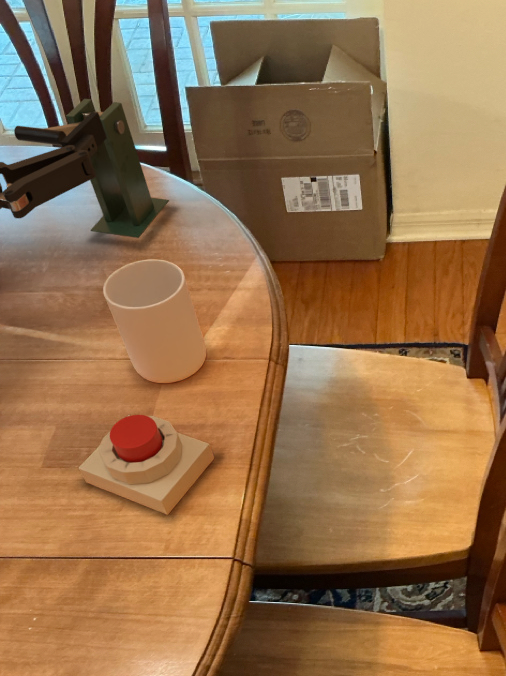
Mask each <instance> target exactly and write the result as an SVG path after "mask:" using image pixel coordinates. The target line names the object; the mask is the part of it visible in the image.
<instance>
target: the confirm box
mask: <svg viewBox="0 0 506 676" xmlns="http://www.w3.org/2000/svg"><path fill="white" fill-rule="evenodd" d="M128 416H131V414H128V415H127V416H126V417H128ZM147 416H148V417H150V418H152V419H153V420H154V421H155V423H156V425H157V427H158V430H159V432H160V435H161V437H162V441H163V442H162V447H161V449H160V451H159V452H158V453H157V454H156V455H155V456H154V457H152V458H150V459H147V460H145V461H143V462H134V463H131V462H127V461H124V460H122V459H121V458H120V457H119V456H118V454H117V452H116V450H115V448H114V446H113V444H112V442H111V440H110V431H111V429H110V430H108V432H107V433H106V434H105V435H104V436H103V438H101V442H100V444H99V445H98V446H97V448H96V449H94V451H92V453H91V454H90V455H89V456H88V457H87V458H86V459H85V460H84V461H83V462H82V463H81V464H80V466H78V470H79V472H80V474H81V476H82V478H83V480H84V481H85V483H86V484H89V485H91V486H94V487H96V488H99V489H102V490H105V491H107V492H109V493H112V494H113V495H117V496H119V497H122V498H123V499H128V501H129V500H130V501H132V502H135V503H137V504H139V505H141V506H144V507H147V508H150V509H152V510H154V511H157V512H160V513H162V514H165V515H167V516H168V515H169V514H170V513H171V512H172V511H173V510H174V508H175V507H176V506H177V505H178V503H179V502H180V501H181V500H182V499H183V497H184V496H185V495H186V493H187V492H188V491H190V489H191V488H192V486H193V485H194V484H195V483H196V481H197V480H198V479H199V478H200V477H201V475H202V474H203V473H204V472H205V470H206V469H207V468H208V467H209V465H210V464H212V462H213V461H214V460H215V456H214V453H213V451H212V448H211V445H210V443H209V442H206V441H202V440H200V439H198V438H195V437H192V436H189V435H187V434H183V433H181V432H178V431H177V430H176V429H175V427H174V426H173V425H172V423H171V421H168V420H166V419H164V418H161V417H158V416H155V415H147Z"/></svg>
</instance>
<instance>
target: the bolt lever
mask: <svg viewBox="0 0 506 676" xmlns="http://www.w3.org/2000/svg"><path fill="white" fill-rule="evenodd" d="M95 111H96V112H98V114H99V116H100V115H101V114H102V113H103V112H104V111H97V110H95ZM90 113H91V112H90ZM90 113H84V114H83V118H84V119H85V118H86V117H87V116H88V115H89V114H90ZM80 123H81V122H78V123H73V124H69V123H68V124H63V125H57V126H50V127H45V128H40V127H32V126H23V125H16V126H14V130H13V132H14V137H15V138H16V140H17V141H20V142H21V141H22V142H28V143H38V144H45V145H53V146H61V147H62V144H61V141H62V140H63V139H64V138H65V137H66V136H67V135H68V134H69V133H70V132H71V131H72V130H73V129H74V128H75V127H77V126H78V125H79V124H80Z"/></svg>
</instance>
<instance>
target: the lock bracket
mask: <svg viewBox="0 0 506 676" xmlns="http://www.w3.org/2000/svg"><path fill="white" fill-rule="evenodd" d="M96 111H97V110H96V108H95V105H94V102H93V100H92V99H90V98H83V99H82V101H80V102H79V104H77V105H76V106H75V107H74V108H72V110H70V112H68V113H67V114H65V117H66V120H67V122H68V124H73V123H78V122H82V121H83V120H84V118H83V114H84V113H90V112H96ZM102 112H103V113H102V114H101V115H100V116H99V117H100V120H101V122H102V125H103V128H104V131H105V134H106V137H107V138H106V139H105V140H104V141H103V142H102V143H101V145H100V146H99V147H98V148H97V151H96V152H95V153H94V154H93V155H92V156H91V157H90V159H91V162H92V165H93V168H94V170H95V173H96V177H95V178H93V179H91V180H89V181H90V183H91V186H92V189H93V192H94V194H95V197H96V200H97V202H98V205H99V207H100V210H101V213H102V217H100V219H99V220H98V221H97V222H96V223H95V225H93V227H92V228H91V229H90V232H95V233H100V234H109V235H113V236H114V235H115V236H122V237H127V238H128V237H129V238H135V239H139V238H140V237H141V236H142V235H143V233H144V232H145V231H146V229H148V228H149V226H150V225H151V224H152V222H153V221H154V220H155V219H156V217H157V216H158V215H159V214H160V213H161V211H162V210H163V209H164V208H165V207H166V205H167V204H168V203H169V202H170V200H169V199H167V198H159V197H158V198H157V197H152V195H151V192H150V190H149V187H148V183H147V180H146V177H145V174H144V170H143V166H142V164H141V161H140V158H139V155H138V152H137V148H136V144H135V142H134V140H133V135H132V132H131V130H130V126H129V123H128V120H127V117H126V113H125V111H124V106H123V104H122V102H118V101H114V102H113V103H111V105H109V106H108V107H107V108H106V109H105V110H103V111H102Z"/></svg>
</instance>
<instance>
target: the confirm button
mask: <svg viewBox="0 0 506 676" xmlns="http://www.w3.org/2000/svg"><path fill="white" fill-rule="evenodd" d="M130 415H131V414H130ZM127 416H128V415H127ZM127 416H125V417H122V418H121V419H119V420H118V421H117V422H115V423H114V425H112V427H111V428H110V430H111V431H110V430H109V431H110V440H111V442H112V444H113V446H114V448H115V450H116V452H117V454H118V456H119V457H120V458H121V459H122V460H124V461H127V462H131V463H134V462H143V461H145V460H147V459H150V458H152V457H154V456H155V455H156V454H157V453H158V452H159V451H160V449H161V447H162V442H163V441H162V437H161V435H160V432H159V430H158V427H157V425H156V423H155V421H154V420H153V419H152V418H150V417H148V416H149V415H145V414H132V415H131V416H128V417H127Z"/></svg>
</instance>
